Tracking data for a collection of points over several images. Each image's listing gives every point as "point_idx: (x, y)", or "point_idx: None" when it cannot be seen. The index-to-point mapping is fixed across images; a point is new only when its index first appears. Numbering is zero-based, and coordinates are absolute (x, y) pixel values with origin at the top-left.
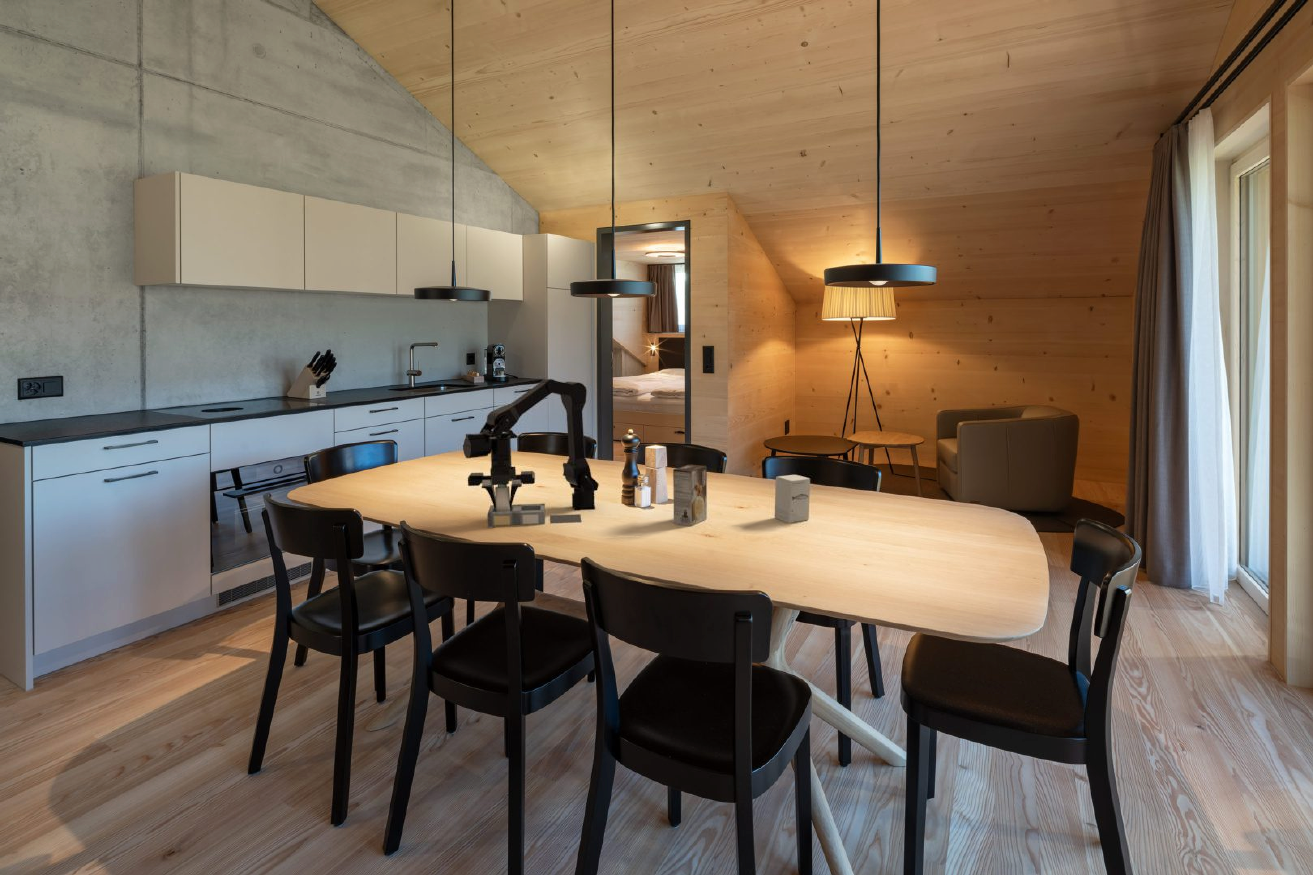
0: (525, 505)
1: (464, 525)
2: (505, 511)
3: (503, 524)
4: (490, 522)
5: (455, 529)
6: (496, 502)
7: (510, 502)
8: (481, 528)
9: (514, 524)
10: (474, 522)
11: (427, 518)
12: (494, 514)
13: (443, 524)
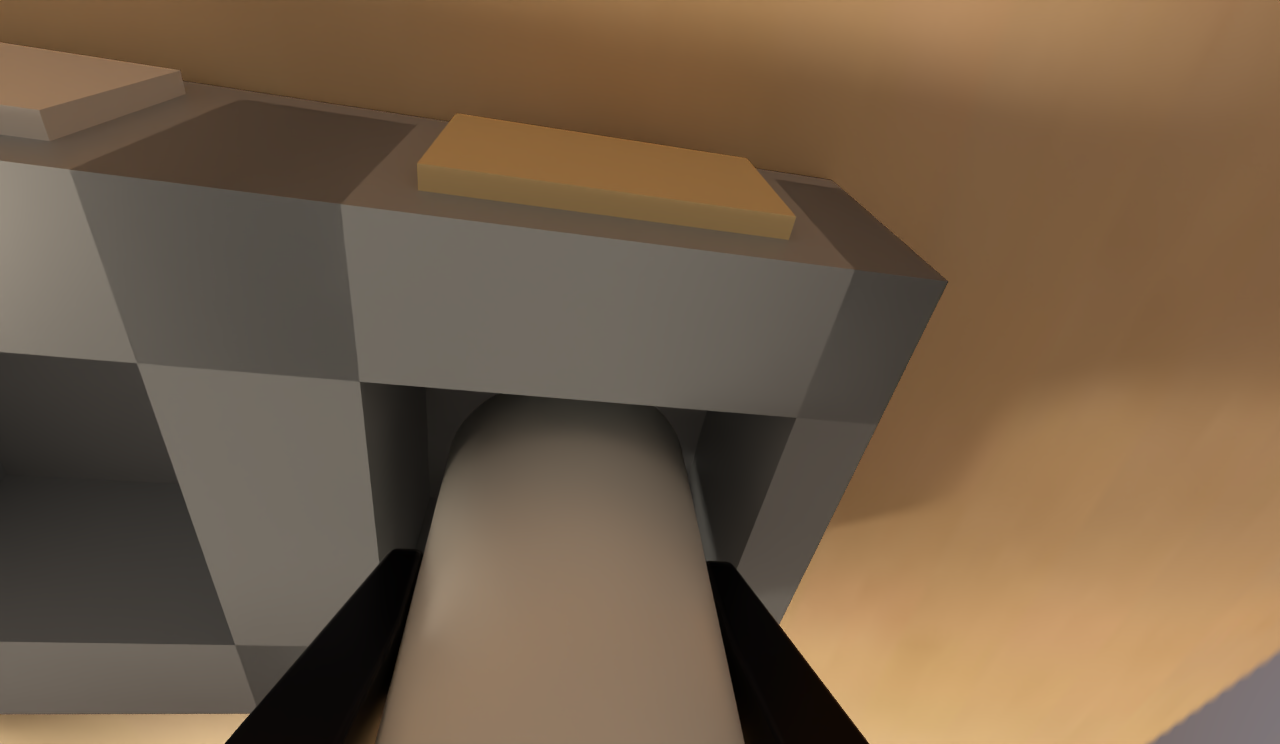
0: (170, 663)
1: (1064, 377)
2: (520, 381)
3: (581, 136)
4: (817, 203)
5: (1265, 222)
6: (721, 644)
7: (371, 636)
8: (933, 165)
9: (369, 119)
10: (910, 465)
11: (1209, 636)
12: (786, 253)
13: (1227, 462)
